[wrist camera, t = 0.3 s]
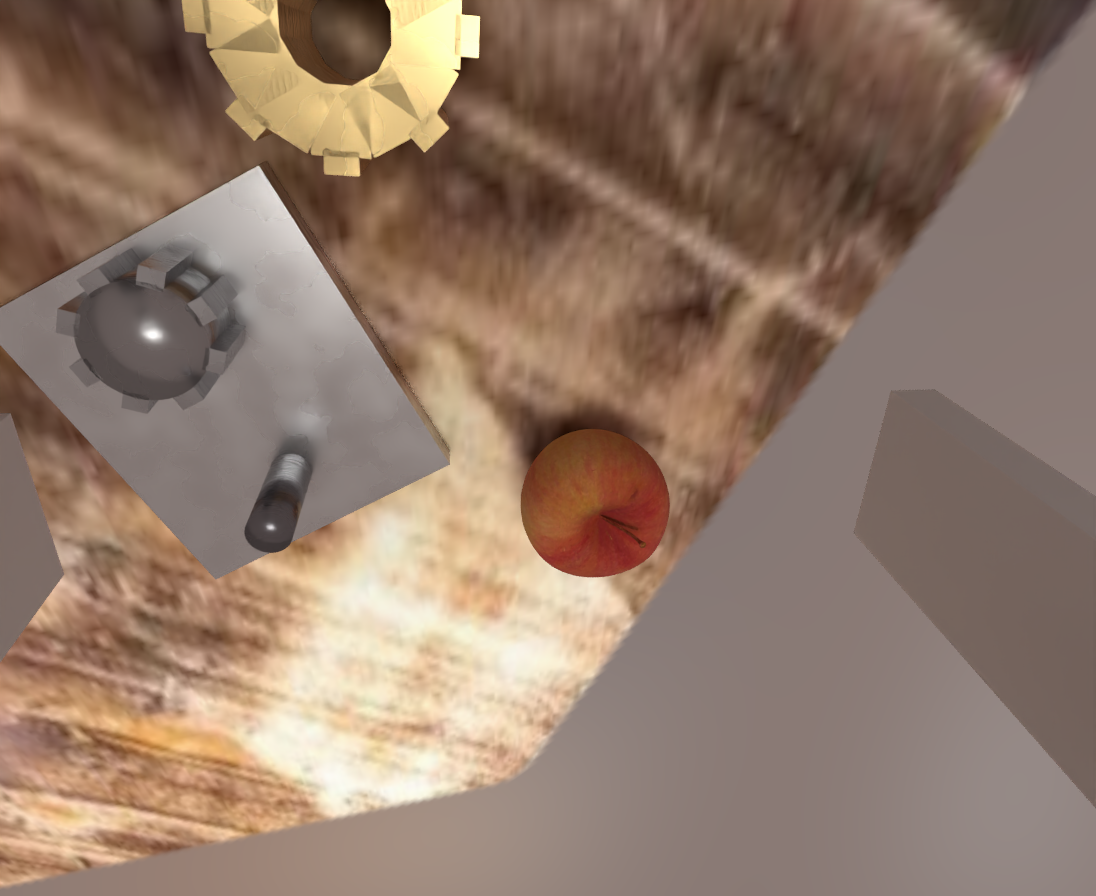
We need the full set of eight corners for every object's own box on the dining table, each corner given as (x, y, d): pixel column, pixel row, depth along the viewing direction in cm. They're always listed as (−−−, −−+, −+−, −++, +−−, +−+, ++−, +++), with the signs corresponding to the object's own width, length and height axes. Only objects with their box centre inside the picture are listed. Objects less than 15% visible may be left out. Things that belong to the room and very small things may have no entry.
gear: (185, -35, 28) (114, -62, 22) (396, -159, 27) (384, -223, 21) (322, 191, 32) (295, 222, 26) (509, 90, 32) (526, 97, 25)
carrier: (-5, 309, 33) (-106, 366, 27) (266, 161, 32) (224, 185, 25) (223, 562, 40) (184, 652, 34) (449, 450, 39) (451, 523, 33)
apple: (505, 414, 39) (520, 492, 32) (642, 392, 39) (687, 465, 32) (522, 529, 42) (539, 624, 35) (648, 509, 43) (690, 598, 36)
